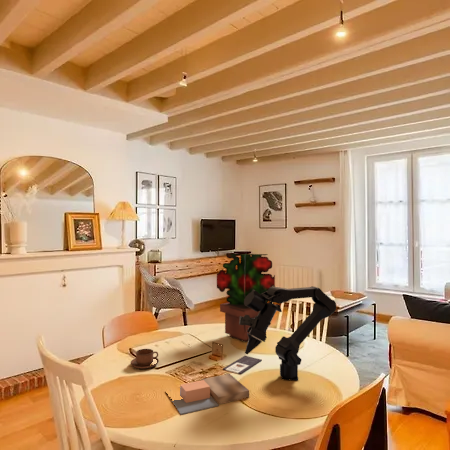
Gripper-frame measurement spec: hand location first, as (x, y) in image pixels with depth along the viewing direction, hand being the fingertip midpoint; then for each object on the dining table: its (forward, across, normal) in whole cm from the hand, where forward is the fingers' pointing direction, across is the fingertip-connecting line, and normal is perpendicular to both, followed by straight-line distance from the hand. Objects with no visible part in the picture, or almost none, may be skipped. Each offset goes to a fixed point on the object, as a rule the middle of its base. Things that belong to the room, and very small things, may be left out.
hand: (246, 353), depth 143 cm
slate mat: (+22, +7, -11) cm, 26 cm away
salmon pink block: (+17, +5, -7) cm, 19 cm away
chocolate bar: (+7, -23, +4) cm, 24 cm away
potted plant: (-3, -60, +2) cm, 61 cm away
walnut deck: (+15, +2, -1) cm, 16 cm away
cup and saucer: (+27, -23, -34) cm, 49 cm away
